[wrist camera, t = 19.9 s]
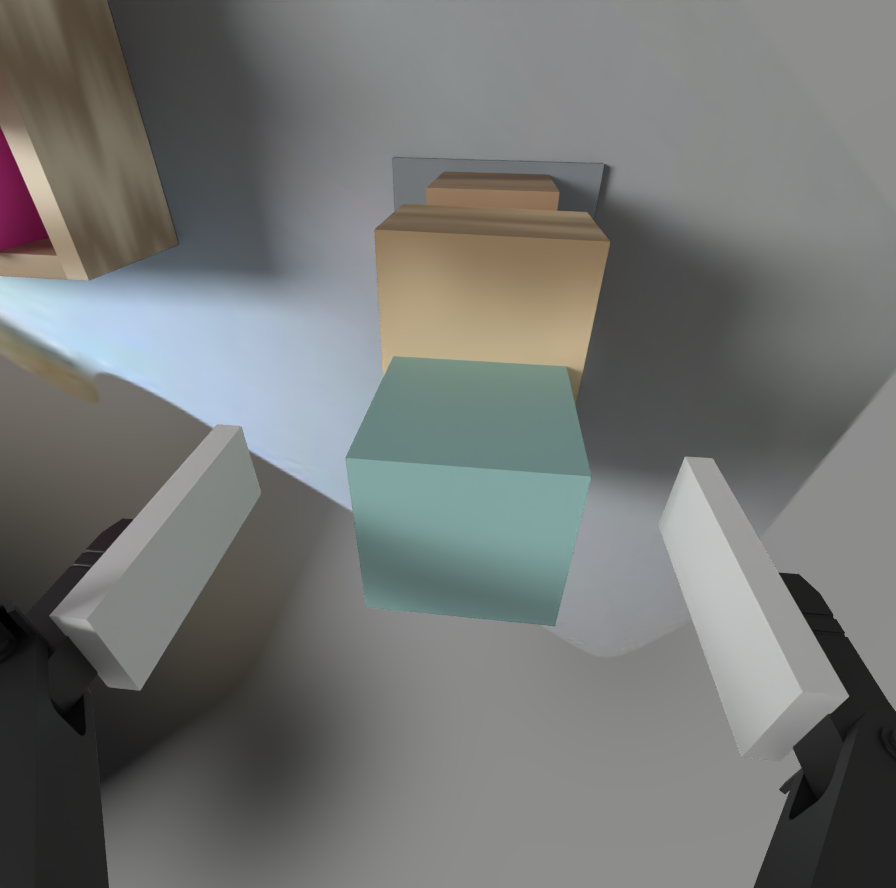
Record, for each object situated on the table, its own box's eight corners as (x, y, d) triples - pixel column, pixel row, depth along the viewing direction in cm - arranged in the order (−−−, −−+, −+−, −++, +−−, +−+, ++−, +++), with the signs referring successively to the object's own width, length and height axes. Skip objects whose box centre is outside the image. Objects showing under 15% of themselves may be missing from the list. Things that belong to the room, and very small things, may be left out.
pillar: (443, 171, 23) (426, 187, 18) (548, 174, 22) (559, 192, 18) (442, 277, 26) (427, 316, 21) (535, 281, 25) (542, 322, 20)
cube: (393, 356, 17) (345, 457, 12) (566, 366, 16) (591, 476, 11) (400, 486, 20) (366, 607, 15) (543, 498, 20) (554, 626, 15)
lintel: (404, 203, 18) (374, 229, 14) (586, 212, 18) (610, 241, 14) (410, 481, 26) (393, 548, 22) (536, 492, 26) (541, 563, 22)
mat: (393, 157, 23) (392, 157, 23) (602, 163, 22) (604, 164, 22) (405, 430, 32) (404, 433, 32) (553, 441, 32) (553, 444, 31)
